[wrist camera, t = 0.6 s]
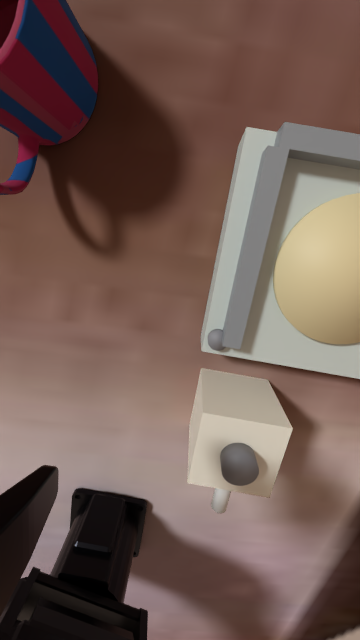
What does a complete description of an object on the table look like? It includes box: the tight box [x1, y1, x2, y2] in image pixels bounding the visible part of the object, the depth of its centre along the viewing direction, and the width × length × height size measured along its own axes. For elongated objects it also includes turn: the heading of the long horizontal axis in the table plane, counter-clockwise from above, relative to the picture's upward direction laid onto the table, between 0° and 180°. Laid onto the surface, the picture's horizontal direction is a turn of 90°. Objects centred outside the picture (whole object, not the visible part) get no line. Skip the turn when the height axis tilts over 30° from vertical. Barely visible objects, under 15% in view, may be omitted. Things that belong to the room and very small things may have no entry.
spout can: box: [187, 368, 293, 514], centre depth 18 cm, size 8×5×6 cm, turn 171°
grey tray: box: [201, 122, 360, 379], centre depth 16 cm, size 12×14×4 cm
